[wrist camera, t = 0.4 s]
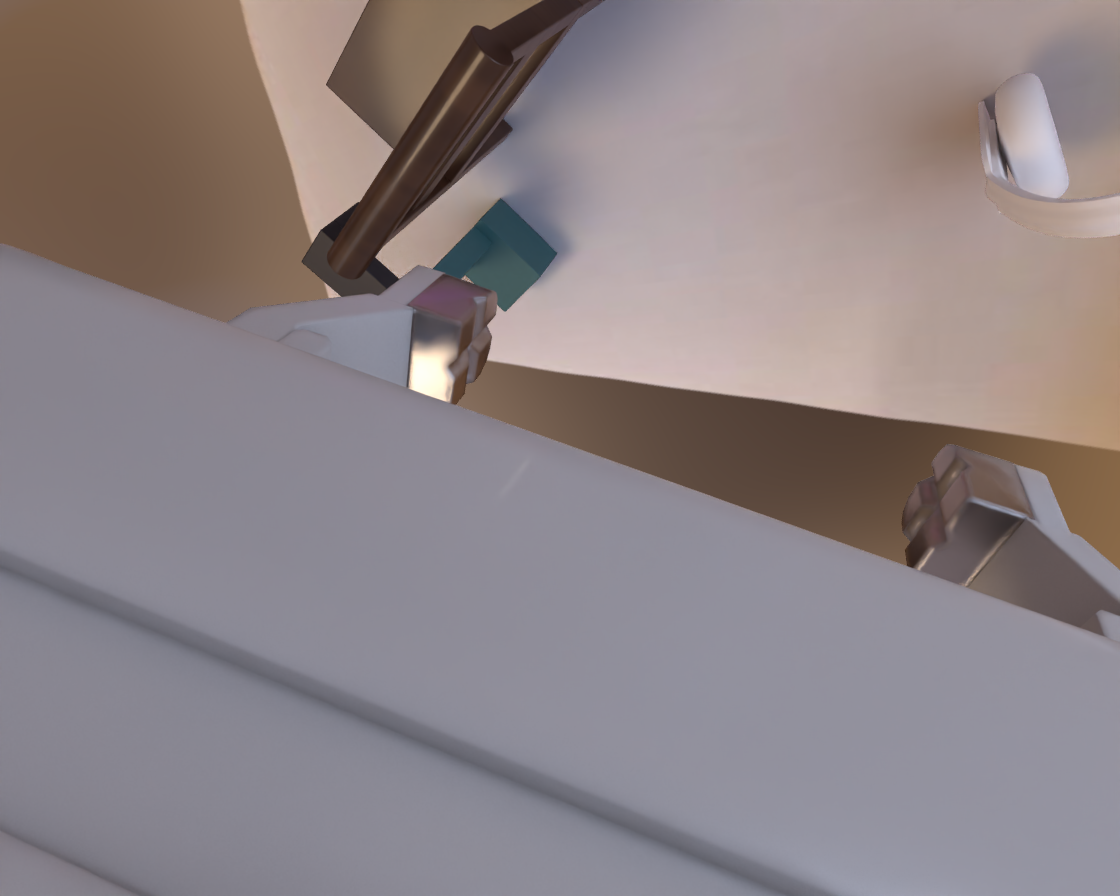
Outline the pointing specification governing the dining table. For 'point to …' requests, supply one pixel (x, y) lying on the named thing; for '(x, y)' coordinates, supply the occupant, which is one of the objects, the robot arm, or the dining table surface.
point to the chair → (435, 99)
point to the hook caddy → (454, 257)
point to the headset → (1036, 167)
